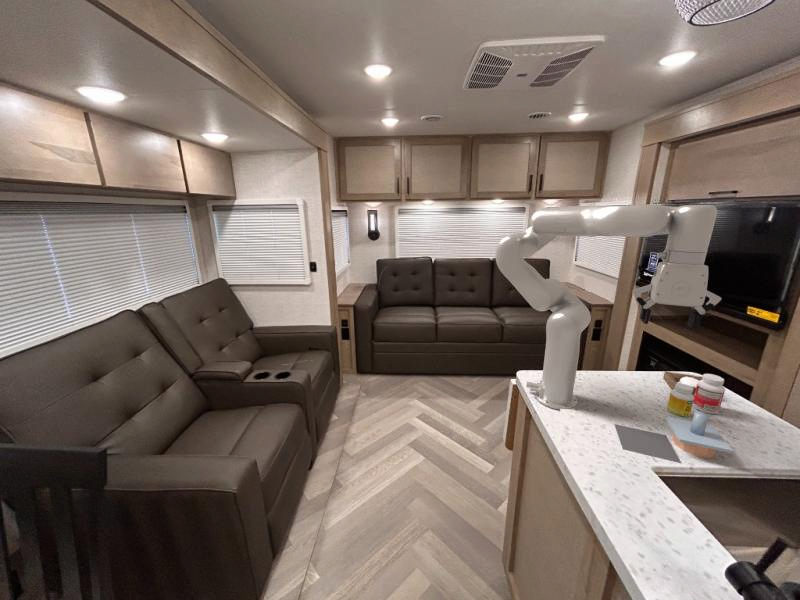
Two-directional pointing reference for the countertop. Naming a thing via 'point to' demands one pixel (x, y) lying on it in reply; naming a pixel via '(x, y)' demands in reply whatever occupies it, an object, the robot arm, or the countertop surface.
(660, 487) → the countertop surface
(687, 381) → the garlic
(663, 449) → the mat
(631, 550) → the countertop surface
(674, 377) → the garlic corral
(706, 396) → the pill bottle
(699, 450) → the bowl
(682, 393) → the supplement bottle
